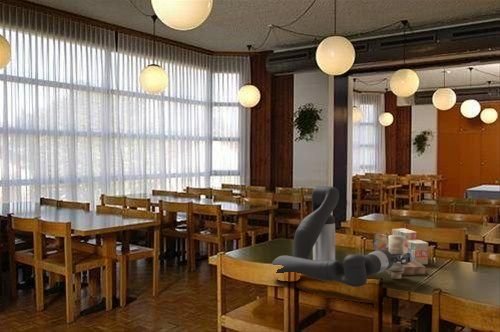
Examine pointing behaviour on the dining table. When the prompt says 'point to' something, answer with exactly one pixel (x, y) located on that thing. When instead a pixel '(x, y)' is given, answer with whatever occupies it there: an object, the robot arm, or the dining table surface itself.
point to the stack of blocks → (413, 245)
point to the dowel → (396, 247)
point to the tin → (381, 241)
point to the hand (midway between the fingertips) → (398, 253)
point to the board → (412, 268)
